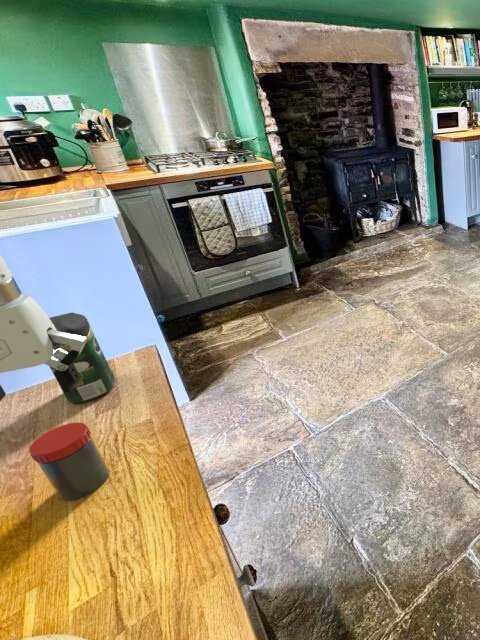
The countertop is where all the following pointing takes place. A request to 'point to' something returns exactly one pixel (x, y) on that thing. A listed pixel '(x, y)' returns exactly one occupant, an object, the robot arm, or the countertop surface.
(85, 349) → the coffee jar
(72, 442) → the jam lid
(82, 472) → the jam jar
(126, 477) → the countertop surface
